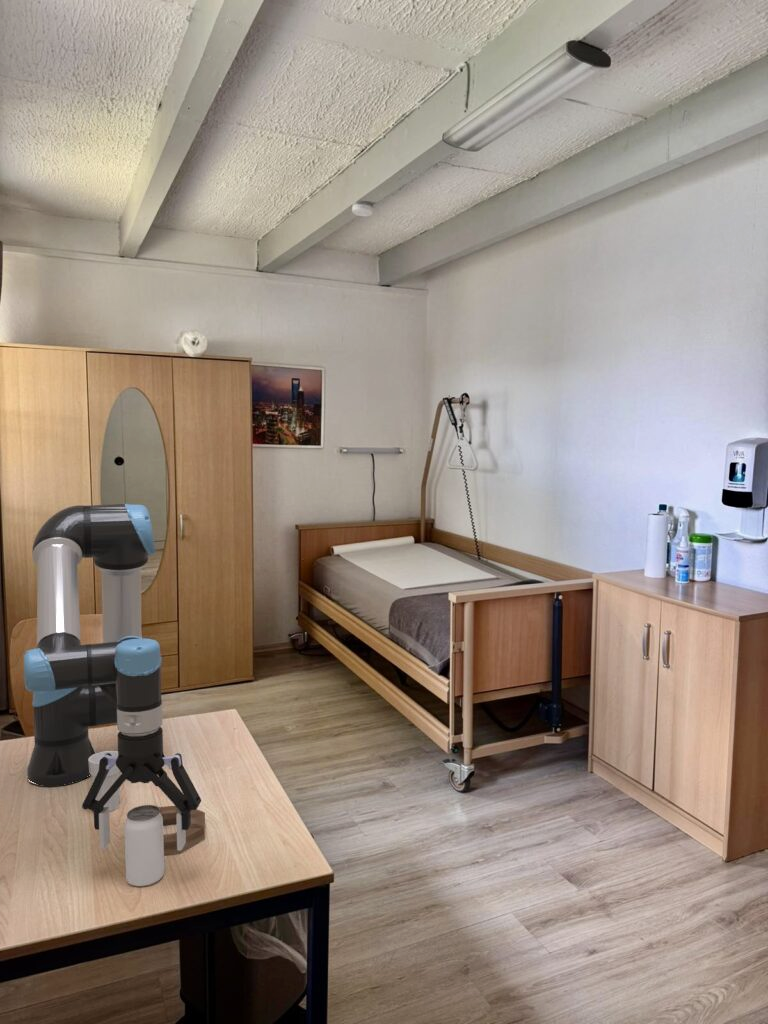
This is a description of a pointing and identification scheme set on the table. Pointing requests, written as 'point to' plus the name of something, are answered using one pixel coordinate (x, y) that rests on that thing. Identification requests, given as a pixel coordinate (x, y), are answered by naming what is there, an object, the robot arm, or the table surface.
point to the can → (144, 846)
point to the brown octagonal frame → (192, 834)
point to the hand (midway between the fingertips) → (143, 846)
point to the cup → (109, 780)
